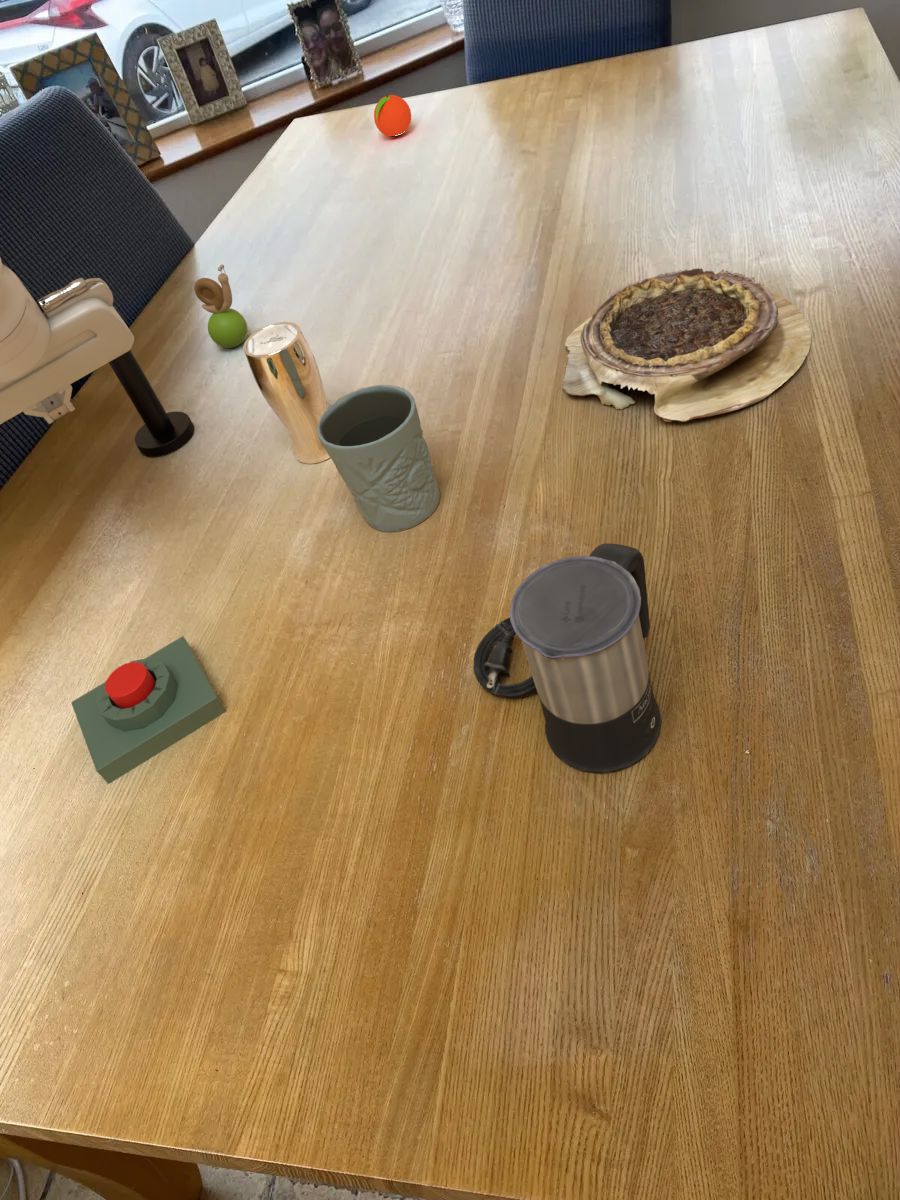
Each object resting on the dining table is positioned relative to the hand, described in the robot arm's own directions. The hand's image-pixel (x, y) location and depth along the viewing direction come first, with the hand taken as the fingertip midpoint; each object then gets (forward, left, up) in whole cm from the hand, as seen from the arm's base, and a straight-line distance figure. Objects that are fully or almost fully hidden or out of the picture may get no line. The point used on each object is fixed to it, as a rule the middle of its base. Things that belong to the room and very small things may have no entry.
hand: (59, 411), depth 94 cm
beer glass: (+23, 0, -19) cm, 30 cm away
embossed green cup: (+25, -17, -19) cm, 35 cm away
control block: (-7, -25, -19) cm, 32 cm away
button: (-7, -25, -15) cm, 30 cm away
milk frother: (+23, -50, -19) cm, 58 cm away
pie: (+62, -19, -19) cm, 67 cm away
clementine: (+76, +77, -19) cm, 110 cm away
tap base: (+9, +19, -19) cm, 28 cm away
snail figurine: (+25, +33, -19) cm, 46 cm away
